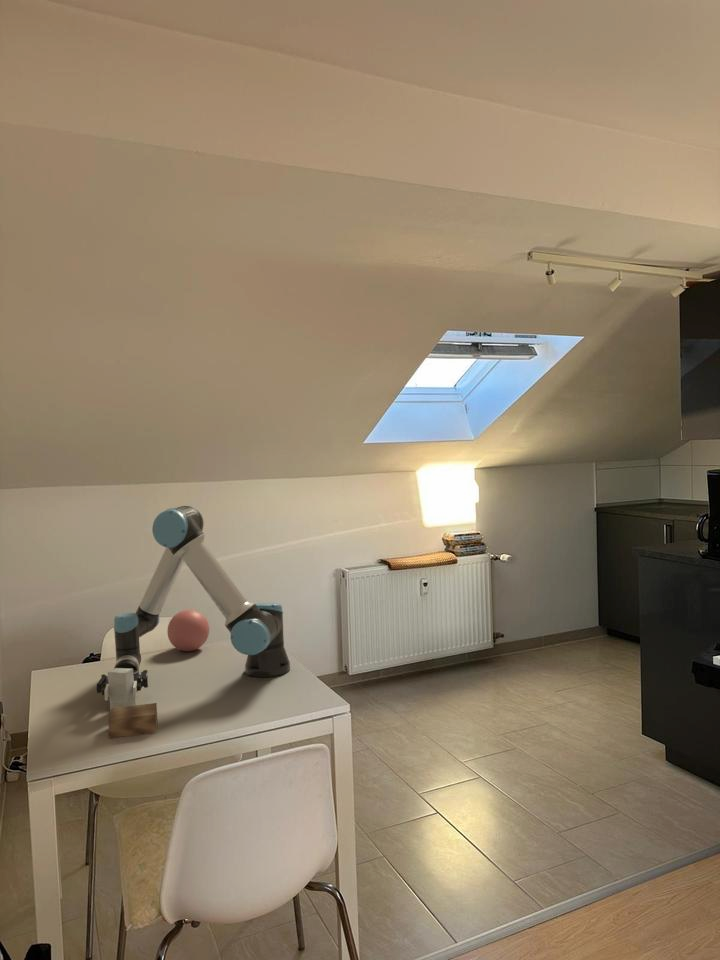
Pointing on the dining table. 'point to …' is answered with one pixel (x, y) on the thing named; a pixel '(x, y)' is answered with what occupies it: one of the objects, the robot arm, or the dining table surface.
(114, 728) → the block
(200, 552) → the robot arm
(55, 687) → the dining table surface
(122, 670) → the skincare box
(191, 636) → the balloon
